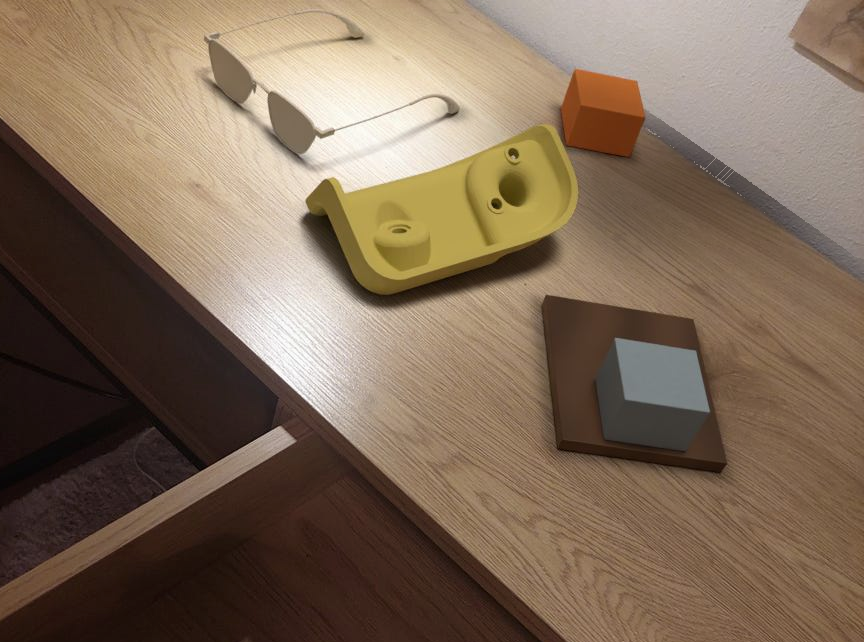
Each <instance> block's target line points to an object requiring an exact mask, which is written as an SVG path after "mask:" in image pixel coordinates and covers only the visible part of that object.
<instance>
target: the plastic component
mask: <svg viewBox="0 0 864 642" xmlns="http://www.w3.org/2000/svg"><path fill="white" fill-rule="evenodd" d="M513 156H514V158H512V157H513ZM578 198H579V186H578V179H577V175H576V172H575V170H574V167H573V164H572V162H571V160H570V157H569V155H568V153H567V151H566V149H565V147H564V143H563V142H562V140H561V138H560V135H559V133H558V131H557V129H556V128H555V127H554V126H553V125H550V124H548V123H542V124H538V125H534V126H532V127H530V128H528V129H526V130H524V131H522V132H520V133H518V134H516V135H514V136H512V137H510V138H508V139H505V140H504V141H502V142H499V143H497V144H495V145H493V146H491V147H489V148H486V149H484V150H482V151H479V152H477V153H475V154H472V155H470V156H467V157H465V158H463V159H460V160H457V161H455V162H452V163H450V164H447V165H443V166H440V167H439V168H435V169H433V170H430V171H429V170H428V171H426V172H422V173H418V174H415V175H411V176H406V177H403V178H398V179H395V180H391V181H388V182H384V183H383V182H382V183H379V184H376V185H372V186H369V187H364V188H360V189H357V190H353V191H349V192H345V191H344V189H343V187H342V184H341V182H340V181H339V180H338V179H337V178H336V177H334V176H331V177H327V178H324V179H323V180H322V181H321V182H320V183H319V184H318V185H317V186H316V187H315V188H314V190H313V191H312V192H311V193H310V194H308V196H307V197H306V198H305V200H304V201H305V204H306V207H307V209H308V211H309V213H311V214H312V215H314V216H318V217H320V216H321V217H323V216H328V217H327V218H328V219H329V221H330V223H331V226H332V228H333V231H334V233H335V235H336V237H337V240H338V243H339V244H340V247H341V249H342V253H343V254H344V257H345V259H346V261H347V263H348V265H349V268H350V270H351V273H352V275H353V276H354V278H355V280H356V281H357V282H358V283H359V284H360V286H362V287H363V288H364V289H366V290H367V291H369V292H371V293H374V294H377V295H383V296H385V295H386V296H388V295H395V294H397V293H400V292H403V291H407V290H410V289H413V288H416V287H420V286H423V285H426V284H430V283H433V282H437V281H439V280H444V279H446V278H450V277H453V276H456V275H459V274H462V273H465V272H470V271H472V270H476V269H479V268H482V267H485V266H488V265H492V264H494V263H496V262H497V261H498V260H499V259H501V258H503V257H504V256H506V255H508V254H511V253H514V252H518V251H521V250H523V249H525V248H528V247H530V246H533V245H534V244H536V243H537V242H539V241H541V240H543V239H544V238H546V237H548V236H550V235H552V234H553V233H555V232H556V231H558V230H559V229H561V228H562V227H564V226H565V224H567V223H568V222H569V221H570V219H571V218H572V217H573V214H574V213H575V210H576V207H577V204H578Z"/></svg>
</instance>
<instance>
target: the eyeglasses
mask: <svg viewBox="0 0 864 642" xmlns="http://www.w3.org/2000/svg"><path fill="white" fill-rule="evenodd" d="M308 13H321V14H327V15H330V16H332V17H334V18H336V19H338V20H339V21H341V22H342V23H343V24H344V25H345V26H346V29H347V31H348V33H349V35H350V36H351V37H352V38H361V37H364V36H365V32H364V30H363V29H362V28H361V27H360V26H359V25H358V24H357V23H355V22H354V21H353V20H351V19H349V18H348V17H346V16H345V15H342V14H340V13H338V12H334V11H332V10H328V9H320V8H312V9H311V8H310V9H304V10H298V11H295V12H293V13H288V14H287V13H286V14H284V15H280V16H279V15H278V16H276V17H272V18H269V19H263V20H260V21H257V22H254V23H250V24H246V25H244V26H240V27H237V28H236V27H235V28H233V29H231V30H227V31H223V32H219V31H218V30H217V31H214V32H210V33H207V34H204V35H203V37H204V38H203V41H204V42H205V43H206V44H207V46H208V48H207V49H208V50H207V51H208V54H209V55H208V56H209V60H210V64H211V66H210V67H211V69H212V75H213V77H214V80H215V82H216V84H217V86H218V87H219V88H220V90H221V91H222V92H223V93H224V94H225V95H226V96H227V97H228V98H229V99H231V100H232V101H234V102H235V103H237V104H244V103H245V102H246V101H247V100H248V99H249V97H251V94H252V92H253V95H256V92H257V87H258V86H259V87H260V88H261V89H262V90H263V91H264V92H265V93H266V94H267V111H268V116H269V121H270V124H271V128H272V131H273V133H274V135H275V136H276V138H277V139H278V140H279V141H280V142H281V143H282V144H283V145H284V146H285V148H287V149H288V150H290V151H291V152H292V153H295V154H297V155H303V154H305V153H306V152H307V151H308V150H309V149H310V148H311V146H312V145H313V144H314V142H315V140H316V137H317V138H319V139H320V140H322V139H325V138H328V137H331V136H334V135H335V132H338V131H340V130H343V129H347V128H349V127H353V126H356V125H359V124H362V123H365V122H368V121H372V120H374V119H377V118H380V117H382V116H385V115H387V114H390V113H394V112H396V111H400V110H402V109H404V108H406V107H409V106H413V105H415V104H417V103H419V102H422V101H423V100H426V99H427V100H428V99H432V98H436V99H440V100H442V101H443V102H445V104H446V107H447V111H448V113H449V114H450V115H452V114H454V113H455V114H456V113H457V112H458V111H460V110H461V106H460V104H459V103H458V102H457V101H456V100H455V99H453V98H452V97H450V96H447V95H444V94H441V93H440V94H439V93H431V94H425V95H423V96H422V97H419V98H417V99H415V100H412V101H410V102H409V103H407V104H405V105H403V106H400V107H398V108H394V109H391V110H389V111H387V112H386V111H385V112H383V113H381V114H378V115H376V116H373V117H369V118H367V119H364V120H360V121H357V122H354V123H351V124H348V125H344V126H341V127H338V128H334V127H329V128H326V129H324V130H321V129H320V128H319V127H317V126H315V123H314V121H313V120H312V119H311V117H309V115H308V114H307V113H306V112H304V111H303V110H302V109H301V108H300V107H299V106H297V105H296V104H295V103H294V102H293V101H291V100H290V99H289V98H287V97H286V96H284V95H283V94H282V93H280V92H279V91H277V90H269V88H268V87H267V86H266V85H265V84H264V83H263V82H261V81H259V80H257V79H256V78H254V76H253V74H252V71H251V70H250V68H249V67H248V66H247V65H246V63H245V62H243V60H241V59H240V58H239V56H237V55H236V54H235V53H234V52H233V51H232V50H231V49H229V48H228V47H227V46H226V45H225V44H223V42H221V41H219V40H218V39H220V37H221V36H223V35H226V34H228V33H229V34H230V33H233V32H235V31H238V30H243V29H244V28H248V27H251V26H255V25H259V24H262V23H267V22H270V21H274V20H278V19H281V18H285V17H290V16H294V15H295V16H298V15H303V14H308Z"/></svg>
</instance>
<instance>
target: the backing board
mask: <svg viewBox="0 0 864 642" xmlns="http://www.w3.org/2000/svg"><path fill="white" fill-rule="evenodd" d="M541 309H542V317H543V326H544V328H543V329H544V334H545V336H544V337H545V345H546V354H547V362H548V364H547V365H548V372H549V381H550V389H551V390H550V391H551V396H552V399H551V400H552V408H553V418H554V425H555V427H554V428H555V435H556V444H557V449H558V450H562V451H570V452H576V453H584V454H590V455H596V456H597V455H598V456H603V457H612V458H620V459H624V460H625V459H626V460H633V461H638V462H639V461H640V462H647V463H653V464H661V465H667V466H668V465H669V466H673V467H682V468H687V469H695V470H702V471H709V472H717V473H722V472H723V470H724V469H725V468H726V466H727V464H728V460H727V455H726V452H725V447H724V444H723V439H722V434H721V431H720V426H719V422H718V418H717V414H716V410H715V405H714V401H713V396H712V392H711V388H710V384H709V383H710V382H709V379H708V375H707V371H706V367H705V363H704V358H703V354H702V350H701V346H700V341H699V337H698V333H697V329H696V324H695V320H694V318H690V317H683V316H678V315H671V314H666V313H661V312H660V313H659V312H653V311H647V310H643V309H642V310H641V309H635V308H629V307H623V306H618V305H611V304H606V303H601V302H600V303H598V302H593V301H587V300H580V299H575V298H569V297H563V296H556V295H551V294H545V295H544V298H543V301H542V303H541ZM615 338H620V339H626V340H632V341H639V342H645V343H651V344H657V345H664V346H670V347H676V348H682V349H688V350H695V351H696V353H697V357H698V362H699V366H700V370H701V375H702V379H703V383H704V388H705V392H706V396H707V401H708V405H709V409H710V413H709V415H708V416H707V418H706V420H705V421H704V423H703V425H702V426H701V428H700V429H699V431H698V433H697V434H696V436H695V437H694V439H693V441H692V442H691V444H690V445H689V447H688V449H687V450H686V451H679V450H672V449H665V448H658V447H651V446H645V445H638V444H631V443H624V442H617V441H610V440H605V439H604V435H603V429H602V422H601V415H600V408H599V401H598V394H597V388H596V381H595V378H596V376H597V374H598V372H599V370H600V368H601V366H602V363H603V361H604V359H605V357H606V355H607V353H608V351H609V349H610V347H611V345H612V343H613V341H614V339H615Z"/></svg>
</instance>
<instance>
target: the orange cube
mask: <svg viewBox="0 0 864 642" xmlns="http://www.w3.org/2000/svg"><path fill="white" fill-rule="evenodd" d="M568 83H569V84H568V86H567V90H566V92H565V95H564V97H563V101H562V104H561V106H560V113H561V119H562V126H563V132H564V139H565V146H567V147H573V148H578V149H584V150H589V151H595V152H599V153H605V154H611V155H616V156H620V157H621V156H622V157H627V158H630V155H631V154H632V152H633V149H634V146H635V144H636V142H637V139H638V138H639V135H640V132H641V130H642V127H643V125H644V123H645V120H646V112H645V109H644V103H643V100H642V95H641V91H640V86H639V83H638V80H634V79H631V78H630V79H629V78H623V77H619V76H614V75H610V74H609V75H608V74H604V73H599V72H593V71H589V70H583V69H579V68H574V69H573V72H572V75H571V78H570V81H569V82H568Z"/></svg>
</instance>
